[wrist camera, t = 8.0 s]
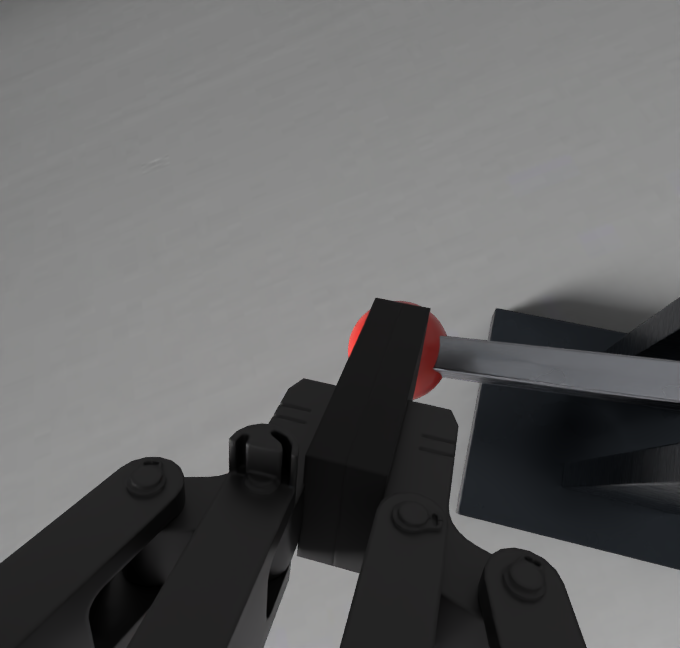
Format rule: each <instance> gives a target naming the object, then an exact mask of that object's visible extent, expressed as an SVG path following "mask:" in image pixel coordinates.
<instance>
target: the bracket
mask: <svg viewBox="0 0 680 648" xmlns="http://www.w3.org/2000/svg"><path fill="white" fill-rule="evenodd" d="M488 341H497V342H507V343H516V344H526V345H535V346H545V347H554V348H564V349H573V350H583V351H592V352H602V353H611V354H621V355H630V356H640V357H649V358H659V359H668V360H678V361H680V297H679V298H678V299H676V300H675V301H673V302H672V303H671V304H669V305H668V306H666V307H665V308H664V309H662V310H661V311H659V312H658V313H657V314H655V315H654V316H652V317H651V318H650V319H648V320H647V321H645V322H644V323H643V324H641V325H640V326H638V327H637V328H636V329H634V330H633V331H631V332H630V333H629V334H627V333H622V332H617V331H612V330H606V329H601V328H596V327H591V326H586V325H581V324H575V323H570V322H565V321H560V320H555V319H549V318H544V317H539V316H534V315H529V314H524V313H518V312H513V311H508V310H503V309H498V308H497V309H496V310H495V312H494V314H493V316H492V320H491V325H490V331H489V336H488ZM456 513H457V514H460V515H464V516H468V517H472V518H476V519H480V520H484V521H488V522H492V523H496V524H500V525H504V526H508V527H512V528H516V529H520V530H524V531H527V532H531V533H535V534H539V535H543V536H547V537H551V538H555V539H559V540H563V541H567V542H571V543H575V544H579V545H583V546H587V547H591V548H595V549H599V550H603V551H607V552H611V553H615V554H619V555H623V556H627V557H631V558H634V559H638V560H642V561H646V562H650V563H654V564H658V565H662V566H666V567H670V568H674V569H678V570H680V411H677V410H670V409H663V408H656V407H649V406H642V405H635V404H628V403H621V402H614V401H607V400H600V399H593V398H585V397H578V396H571V395H564V394H557V393H550V392H543V391H536V390H529V389H522V388H515V387H508V386H501V385H494V384H487V383H480V385H479V390H478V396H477V401H476V407H475V412H474V417H473V423H472V428H471V434H470V439H469V444H468V450H467V455H466V461H465V466H464V471H463V477H462V482H461V488H460V493H459V498H458V504H457V509H456Z"/></svg>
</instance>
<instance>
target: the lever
mask: <svg viewBox="0 0 680 648" xmlns="http://www.w3.org/2000/svg"><path fill="white" fill-rule="evenodd" d="M395 302H400V303H405V304H410V305H415V306H419V305H417V304H414V303H411V302H405V301H395ZM369 312H370V310H369V311H368V312H367V313H365V314H364V315H363V316H362V317H361V318H360V320H359V321H358V322H357V324H356V325H355V327H354V329H353V331H352V333H351V336H350V340H349V347H348V357H349V356H350V354H351V352H352V350H353V347H354V345H355V343H356V341H357V338H358V336H359V334H360V332H361V329H362V327H363V325H364V323H365V321H366V318H367V316H368V314H369ZM442 377H444V378H451V379H458V380H465V381H472V382H479V383H487V384H494V385H501V386H508V387H515V388H522V389H529V390H536V391H543V392H550V393H557V394H564V395H571V396H578V397H585V398H593V399H600V400H607V401H614V402H621V403H628V404H635V405H642V406H649V407H656V408H663V409H670V410H677V411H680V361H678V360H668V359H659V358H649V357H640V356H630V355H621V354H611V353H602V352H592V351H583V350H573V349H564V348H554V347H545V346H535V345H526V344H516V343H507V342H497V341H488V340H478V339H469V338H459V337H450V336H447V335H446V332H445V330H444V328H443V326H442V325H441V323H440V322H439V320H438V319H437V318H436V317H435V316H434V315H433V314H432V313H431V312H430V314H429V319H428V324H427V330H426V335H425V340H424V345H423V351H422V356H421V361H420V366H419V371H418V377H417V382H416V387H415V392H414V396H413V400H414V399H417V398H420V397H422V396H424V395H425V394H427V393H429V392H430V391H431V390H432V389H433V388H434V387H435V386H436V385H437V384H438V383H439V382H440V380H441V379H442Z"/></svg>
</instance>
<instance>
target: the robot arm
mask: <svg viewBox="0 0 680 648" xmlns="http://www.w3.org/2000/svg"><path fill="white" fill-rule="evenodd" d="M430 309H431V308H426V307H421V306H415V305H410V304H405V303H400V302H395V301H390V300H385V299H380V298H375V300H374V303H373V305H372V307H371V309H370V312H369V314H368V316H367V318H366V321H365V323H364V325H363V327H362V329H361V332H360V334H359V336H358V338H357V341H356V343H355V345H354V347H353V350H352V352H351V354H350V356H349V359H348V361H347V363H346V365H345V367H344V370H343V372H342V374H341V376H340V379H339V381H338V383H337V385H336V386H335V385H331V384H327V383H322V382H318V381H313V380H309V379H304V378H303V379H302V380H301V381H299V382H298V383H296V384H295V385H293V386H292V387H290V388H289V389H288V391H287V392H286V394H285V396H284V398H283V399H282V401H281V404H280V405H279V406H278V408H277V410H276V412H275V414H274V417H272V419H271V421H270V422H269V424H256V425H249V426H247V427H244V428H242V429H240V430H238V431H236V432H235V433H234V434H233V435H232V436H231V437H230V439H229V473H228V474H224V475H220V476H214V477H184V475H183V472H182V470H181V468H180V467H179V466H178V465H177V464H175V463H174V462H173V461H171V460H168V459H164V458H161V457H145V458H142V459H138V460H134V461H131V462H130V463H128V464H126V465H125V466H123V467H121V468H120V469H118V470H117V471H116V472H115V473H113V474H112V475H111V476H110V477H108V478H107V479H106V480H105V481H103V482H102V483H101V484H100V485H98V486H97V487H96V488H95V489H93V490H92V491H91V492H89V493H88V494H87V495H86V496H84V497H83V498H82V499H81V500H79V501H78V502H77V503H76V504H74V505H73V506H72V507H71V508H69V509H68V510H67V511H66V512H64V513H63V514H62V515H61V516H59V517H58V518H57V519H56V520H54V521H53V522H52V523H51V524H49V525H48V526H47V527H46V528H44V529H43V530H42V531H41V532H39V533H38V534H37V535H35V536H34V537H33V538H32V539H30V540H29V541H28V542H27V543H25V544H24V545H23V546H22V547H20V548H19V549H18V550H17V551H15V552H14V553H13V554H12V555H10V556H9V557H8V558H7V559H5V560H4V561H3V562H2V563H0V648H263V647H264V644H265V642H266V639H267V636H268V634H269V631H270V628H271V626H272V623H273V620H274V618H275V615H276V612H277V610H278V607H279V605H280V602H281V599H282V597H283V594H284V591H285V589H286V586H287V583H288V581H289V575H290V566H291V559H292V557H293V554H294V551H295V549H296V546H297V544H298V550H297V556H299V557H303V558H307V559H310V560H314V561H317V562H321V563H325V564H328V565H332V566H335V567H339V568H343V569H346V570H350V571H353V572H357V573H360V574H359V578H358V581H357V585H356V589H355V593H354V596H353V600H352V604H351V608H350V611H349V615H348V619H347V623H346V626H345V630H344V634H343V638H342V641H341V645H340V648H587V647H586V644H585V642H584V639H583V636H582V633H581V630H580V628H579V625H578V622H577V619H576V616H575V613H574V611H573V608H572V605H571V602H570V599H569V597H568V594H567V591H566V588H565V585H564V583H563V581H562V580H561V578H560V576H559V574H558V573H557V571H556V570H555V569H554V568H553V567H552V566H551V565H550V564H549V563H548V562H547V561H546V560H545V559H543V558H542V557H540V556H538V555H536V554H534V553H532V552H530V551H527V550H523V549H518V548H507V549H500V550H499V551H497V552H495V553H493V554H490V553H489V552H487V551H485V550H483V549H481V548H480V547H478V546H476V545H474V544H473V543H472V542H470V541H469V540H467V539H466V538H465V537H464V536H463V535H462V534H461V533H460V532H459V531H458V530H457V529H456V527H455V526H454V524H453V523H452V520H451V517H450V514H449V499H450V491H451V483H452V474H453V466H454V457H455V450H456V442H457V433H458V424H457V422H456V420H455V417H454V415H453V413H452V411H451V410H449V409H445V408H440V407H436V406H431V405H427V404H422V403H418V402H413V401H412V400H413V396H414V392H415V387H416V382H417V377H418V371H419V366H420V361H421V356H422V351H423V345H424V340H425V335H426V330H427V324H428V319H429V314H430Z"/></svg>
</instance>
